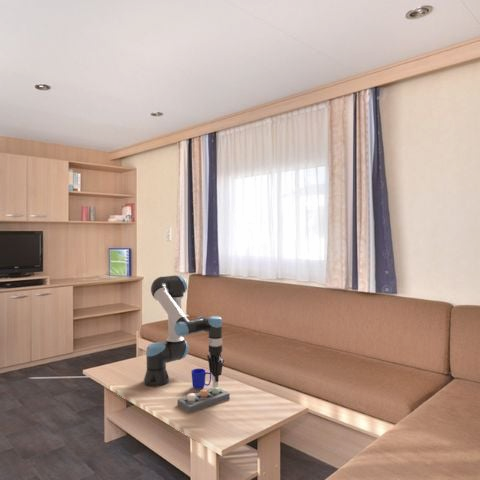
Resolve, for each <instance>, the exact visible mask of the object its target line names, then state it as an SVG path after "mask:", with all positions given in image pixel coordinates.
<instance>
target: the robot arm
mask: <svg viewBox="0 0 480 480" xmlns="http://www.w3.org/2000/svg"><path fill="white" fill-rule="evenodd" d="M187 290H188V284H187V280H186V278H185V277H184V276H182V275H175V274H174V275H167V276H159V277H157V278H156V279H154V280H153V282H152V283H151V286H150V293H151V296H152V297H153V299H154V300H155V301H157V302H158V303H159V304H160V305H161V308H163V310H164V311H165V313H166V314H167V324H168V325H167V326H168V327H167V329H168V331H167V333H168V336H167V338H165V339H166V340H165V342H164V341H157V342H153V343H151V344H150V343H149V345H148V346H147V347H146V352H145V353H146V355H145V356H146V371H145V374H144V378H143V384H144V386H147V387H160V386H163V385H166V384H168V383H169V381H170V377H169V373H168V371H167V364H168V363H173V362H175V361H180V360H182V359H185V358H186V356H187V355H188V354H189V345H188V341H186V339H185V337H183V336H187V335H192V334H193V335H194V334H197V333H203V332H206V333H208V352H209V354H207V355H206V356H207V361H208V362H207V363H208V367H209V373H211V380H212V388H213V387H214V388H216V387H219V379H220V377H219V376H222V371H223V365H224V362H225V359H223V358H222V352H223V319H222V317H221V316H215V315H212V316H210V317H205V316H198V317H197V318H195V319H189V318H188V317H187V315H185V313H184V311H182V299H183V298H184V294H185V293H186V292H187Z"/></svg>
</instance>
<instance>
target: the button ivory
mask: <svg viewBox="0 0 480 480" xmlns="http://www.w3.org/2000/svg"><path fill="white" fill-rule="evenodd" d="M186 395H187V396H186V397H187V401H188V402H195V401H196V393H192V392H191V393H190V392H189V393H188V394H186Z"/></svg>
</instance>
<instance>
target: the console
mask: <svg viewBox="0 0 480 480" xmlns="http://www.w3.org/2000/svg"><path fill="white" fill-rule="evenodd" d="M207 390H208V397H207V398H201V397H200V391H199V392H197V393H195V394H196V401H195V402H188V401H187V396H184V397H180V398H177V406H179V407H180V409H181V408H182V409H183V410H184V411H186V412H187V413H194V412H196V411H199V410H202V409H205V408H207V407H211V406H213V405H216V404H218V403H221V402H224V401H227V400H228V401H229V400H231V399H230V393H229V392H228V391H226V390H223V389H222V388H220V394H218V395H213V394H212V388H209V389H207Z"/></svg>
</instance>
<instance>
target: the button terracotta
mask: <svg viewBox="0 0 480 480" xmlns="http://www.w3.org/2000/svg"><path fill="white" fill-rule="evenodd" d="M208 390H209V389H206V388H205V389H204V388H202V389H199V392H200V397H201V398H207V397H208Z"/></svg>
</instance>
